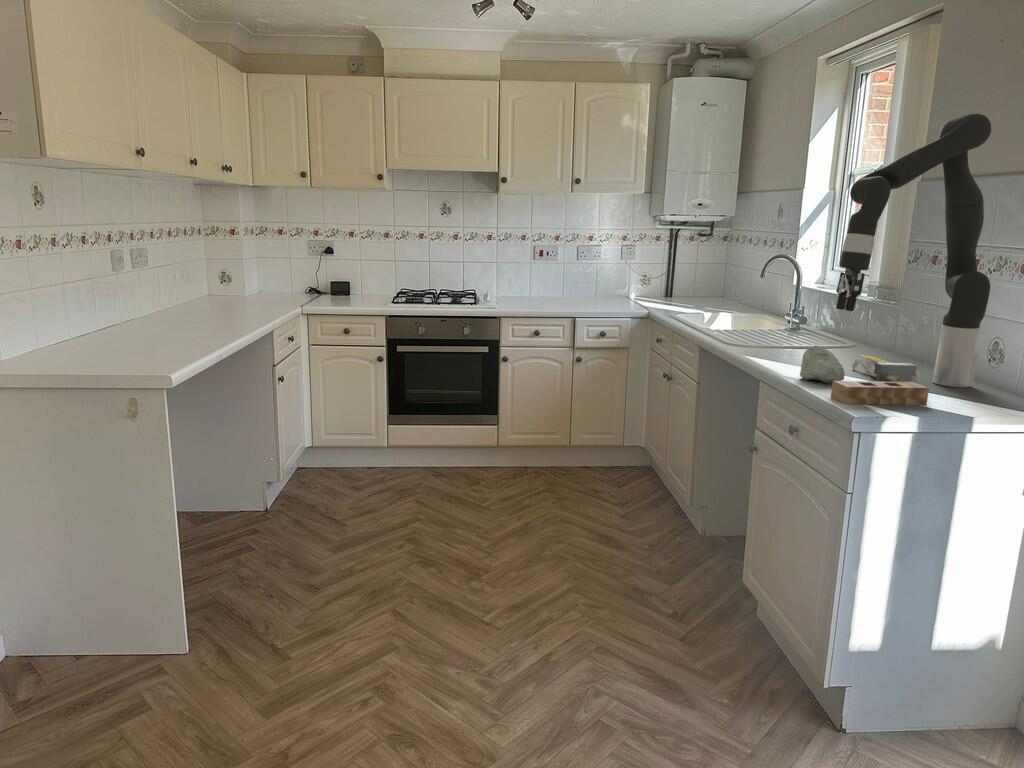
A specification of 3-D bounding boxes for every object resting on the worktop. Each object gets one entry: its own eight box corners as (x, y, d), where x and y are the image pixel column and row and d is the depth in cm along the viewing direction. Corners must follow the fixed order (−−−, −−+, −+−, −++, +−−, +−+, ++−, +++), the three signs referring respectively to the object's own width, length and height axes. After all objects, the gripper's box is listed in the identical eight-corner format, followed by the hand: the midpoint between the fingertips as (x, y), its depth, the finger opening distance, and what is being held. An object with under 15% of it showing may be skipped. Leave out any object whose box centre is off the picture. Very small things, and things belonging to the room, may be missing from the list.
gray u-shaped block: (905, 391, 199) (910, 363, 197) (912, 393, 196) (916, 365, 194) (871, 390, 198) (875, 362, 196) (877, 393, 195) (881, 364, 193)
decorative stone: (788, 374, 216) (792, 351, 208) (820, 361, 217) (826, 337, 209) (816, 405, 207) (821, 382, 199) (850, 391, 208) (857, 367, 201)
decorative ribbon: (875, 355, 227) (933, 374, 198) (870, 373, 228) (927, 394, 199) (852, 351, 226) (907, 369, 197) (847, 368, 227) (900, 390, 198)
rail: (909, 398, 191) (912, 381, 190) (926, 404, 184) (929, 388, 183) (830, 397, 189) (833, 380, 188) (844, 404, 182) (847, 386, 181)
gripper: (880, 253, 189) (866, 313, 192) (863, 253, 203) (850, 310, 206) (850, 249, 190) (837, 309, 193) (835, 250, 204) (823, 306, 207)
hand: (844, 310), depth 200 cm, fingers open, 8 cm apart
